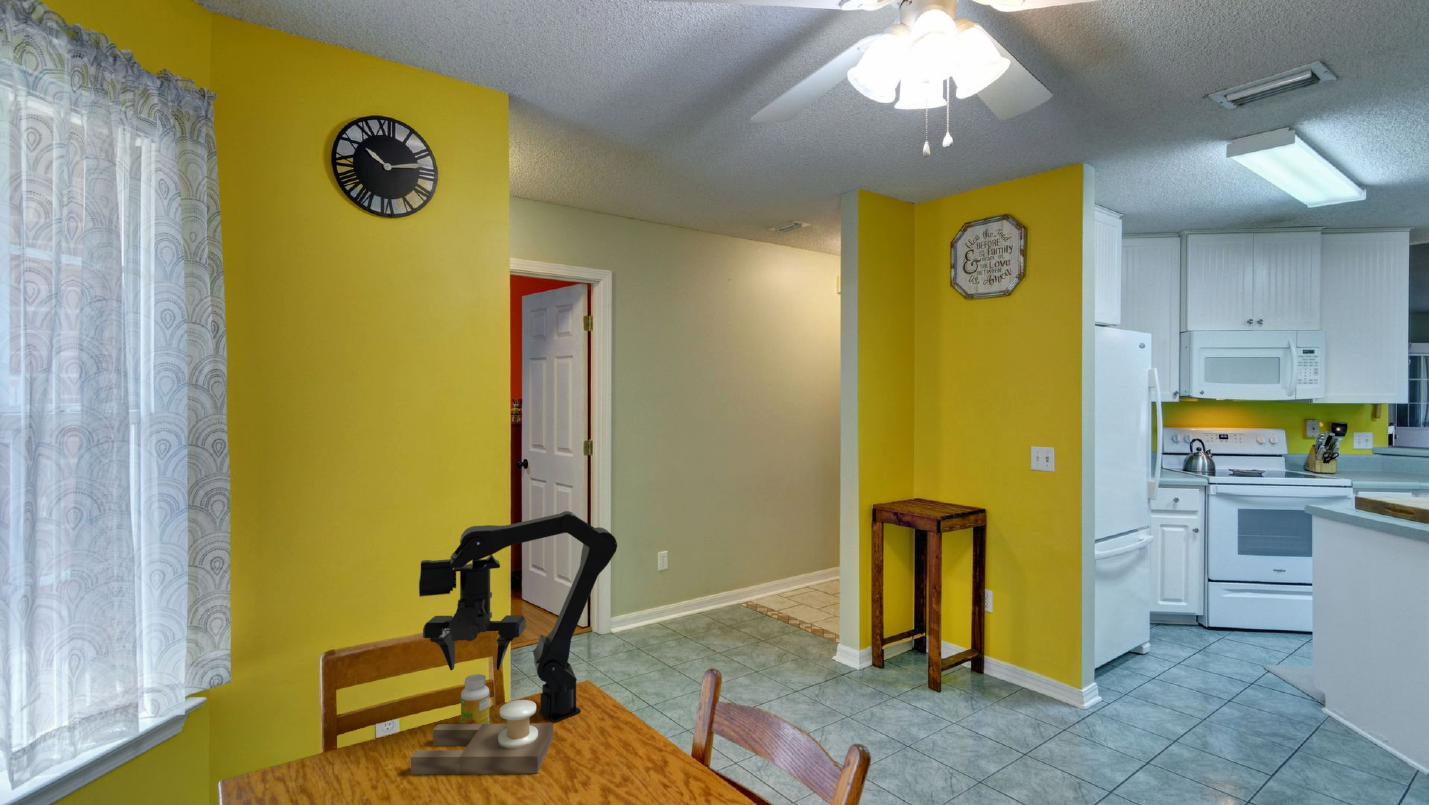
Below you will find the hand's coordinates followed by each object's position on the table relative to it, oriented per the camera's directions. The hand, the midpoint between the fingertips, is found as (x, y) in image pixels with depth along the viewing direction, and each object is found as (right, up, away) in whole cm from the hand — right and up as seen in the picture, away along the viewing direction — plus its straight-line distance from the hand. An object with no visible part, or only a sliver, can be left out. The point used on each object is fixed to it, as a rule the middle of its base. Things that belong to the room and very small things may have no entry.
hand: (475, 669), depth 136 cm
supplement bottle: (0, -12, 0) cm, 12 cm away
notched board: (+6, -11, -11) cm, 17 cm away
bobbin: (+12, -8, -11) cm, 18 cm away
